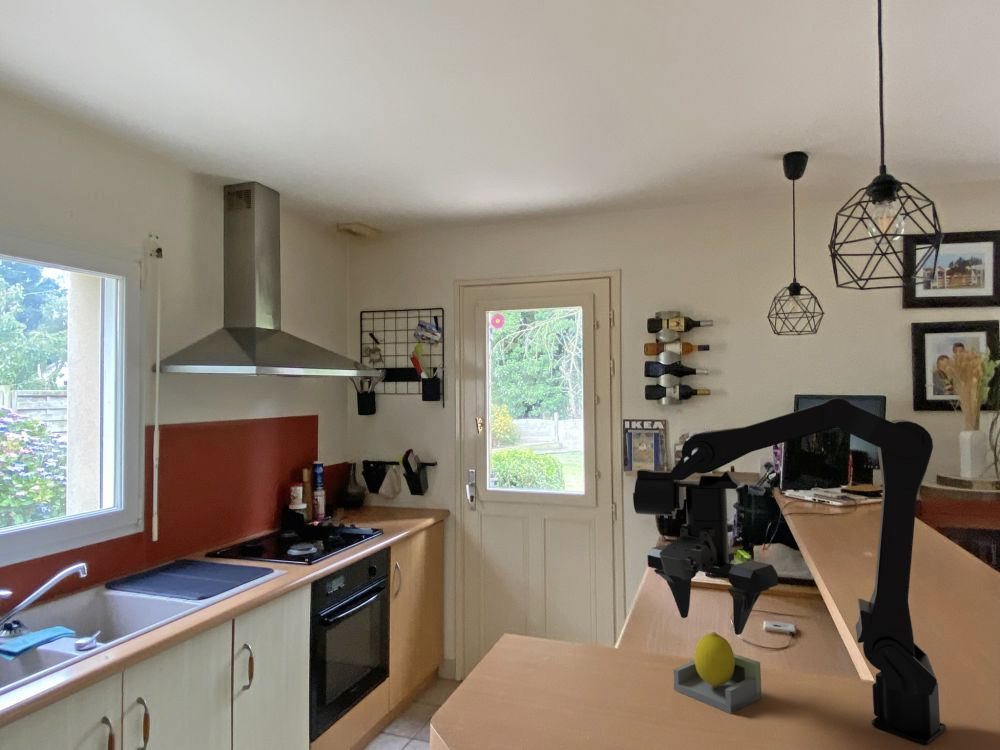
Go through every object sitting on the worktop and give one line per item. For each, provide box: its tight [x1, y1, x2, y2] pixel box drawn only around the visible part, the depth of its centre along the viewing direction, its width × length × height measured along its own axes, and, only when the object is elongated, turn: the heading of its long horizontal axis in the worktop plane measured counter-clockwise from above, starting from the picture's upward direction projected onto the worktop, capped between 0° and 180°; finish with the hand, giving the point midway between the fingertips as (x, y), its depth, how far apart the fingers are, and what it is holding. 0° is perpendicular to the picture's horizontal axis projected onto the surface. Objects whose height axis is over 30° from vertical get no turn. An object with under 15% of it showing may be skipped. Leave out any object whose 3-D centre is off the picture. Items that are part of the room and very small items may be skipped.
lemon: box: [694, 631, 735, 688], centre depth 95 cm, size 6×6×8 cm
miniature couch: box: [673, 652, 763, 714], centre depth 96 cm, size 10×8×5 cm
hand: (710, 625), depth 96 cm, fingers open, 9 cm apart
